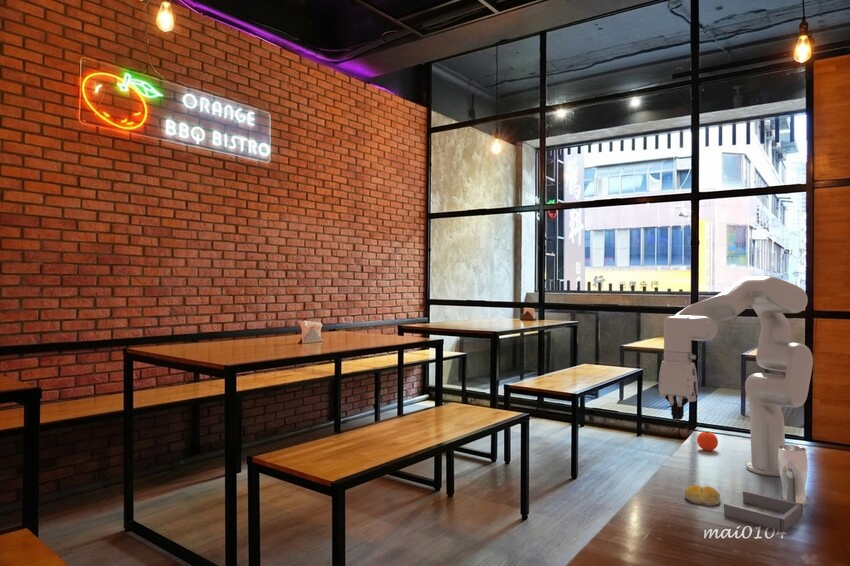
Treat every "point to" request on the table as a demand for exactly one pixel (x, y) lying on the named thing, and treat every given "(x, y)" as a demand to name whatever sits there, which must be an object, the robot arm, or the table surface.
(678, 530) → the table surface
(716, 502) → the bread roll
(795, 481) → the beer glass
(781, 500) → the frame
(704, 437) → the clementine
